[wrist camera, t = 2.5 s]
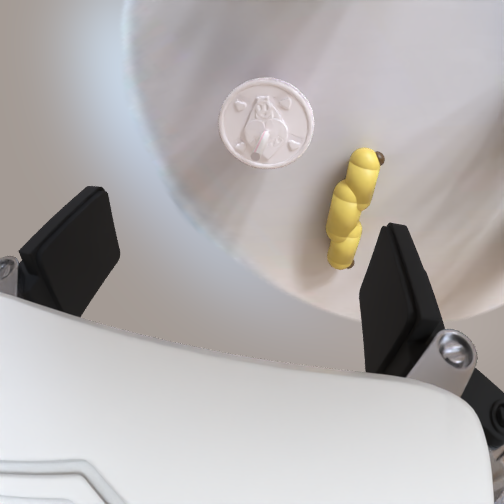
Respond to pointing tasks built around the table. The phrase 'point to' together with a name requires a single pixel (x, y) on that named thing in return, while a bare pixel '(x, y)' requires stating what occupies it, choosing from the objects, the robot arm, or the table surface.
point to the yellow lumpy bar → (351, 206)
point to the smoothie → (266, 123)
